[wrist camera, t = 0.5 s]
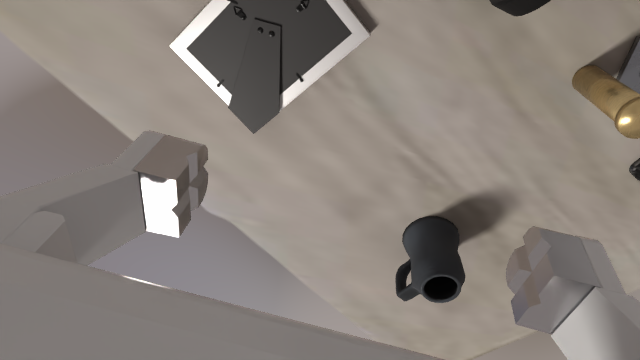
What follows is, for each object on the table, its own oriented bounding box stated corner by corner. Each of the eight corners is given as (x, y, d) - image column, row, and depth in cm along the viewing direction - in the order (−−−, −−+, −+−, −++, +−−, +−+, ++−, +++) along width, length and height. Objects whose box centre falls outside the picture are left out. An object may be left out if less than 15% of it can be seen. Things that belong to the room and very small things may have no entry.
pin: (576, 59, 54) (631, 96, 43) (612, 63, 54) (675, 101, 43) (562, 92, 56) (610, 135, 45) (596, 97, 56) (652, 141, 45)
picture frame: (257, 125, 63) (370, 31, 55) (253, 133, 61) (370, 37, 52) (174, 42, 58) (285, -77, 49) (166, 47, 55) (281, -77, 47)
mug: (433, 206, 67) (445, 254, 57) (470, 239, 70) (488, 290, 60) (377, 247, 72) (380, 297, 63) (414, 276, 75) (421, 328, 65)
